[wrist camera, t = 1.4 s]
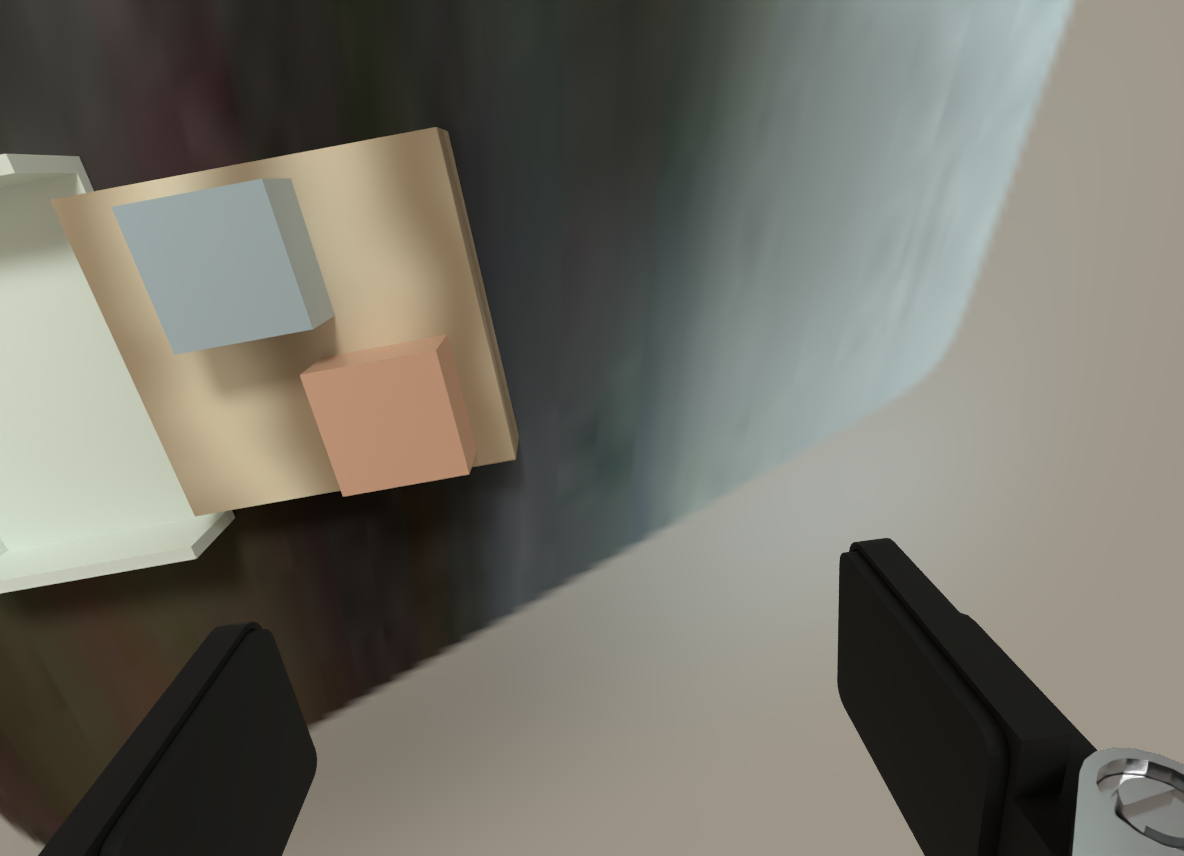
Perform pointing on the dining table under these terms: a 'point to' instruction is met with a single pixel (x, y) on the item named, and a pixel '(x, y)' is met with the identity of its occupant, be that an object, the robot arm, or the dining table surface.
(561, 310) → the dining table surface
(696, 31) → the dining table surface
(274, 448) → the birch board
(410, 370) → the terracotta tile
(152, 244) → the slate tile
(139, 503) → the tray
